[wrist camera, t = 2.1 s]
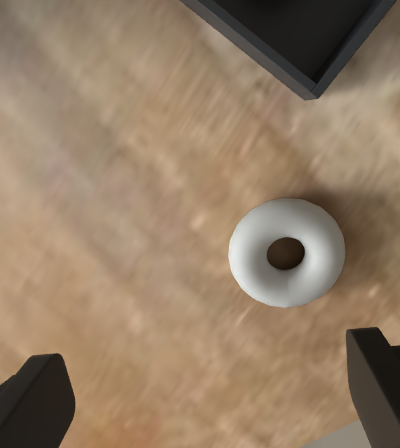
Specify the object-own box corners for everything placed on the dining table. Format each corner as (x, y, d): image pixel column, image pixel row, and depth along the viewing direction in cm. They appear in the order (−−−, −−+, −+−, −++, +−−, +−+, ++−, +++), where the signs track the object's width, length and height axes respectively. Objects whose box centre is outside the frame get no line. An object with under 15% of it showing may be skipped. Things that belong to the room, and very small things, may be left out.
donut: (319, 176, 32) (211, 217, 34) (330, 184, 29) (210, 229, 31) (352, 276, 35) (250, 310, 36) (365, 293, 31) (252, 329, 33)
